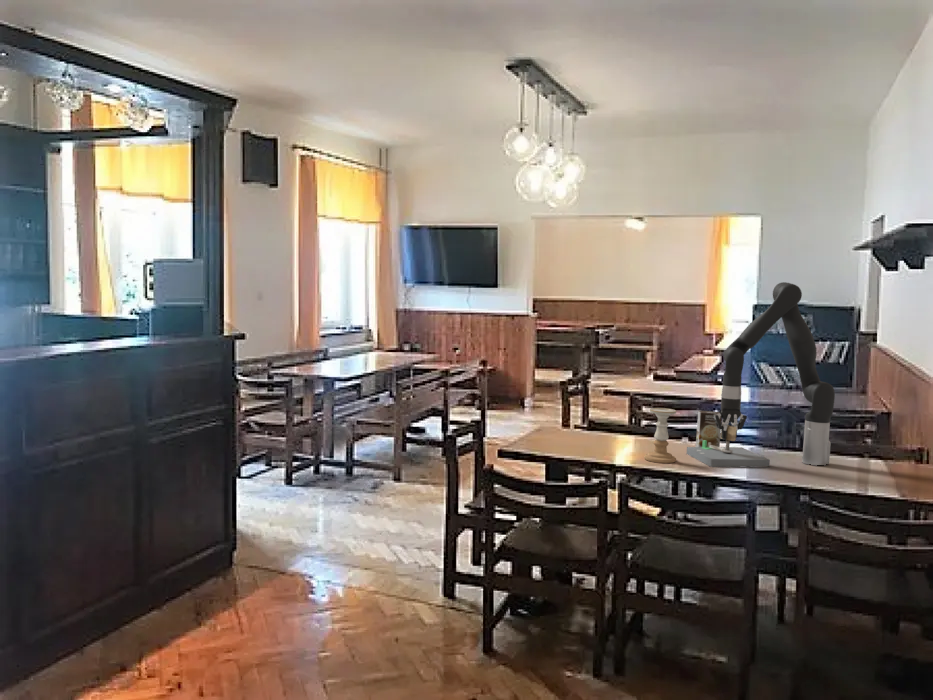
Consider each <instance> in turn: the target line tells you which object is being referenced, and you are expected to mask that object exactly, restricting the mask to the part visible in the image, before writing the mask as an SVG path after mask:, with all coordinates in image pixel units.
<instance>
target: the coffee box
mask: <svg viewBox="0 0 933 700" xmlns="http://www.w3.org/2000/svg"><path fill="white" fill-rule="evenodd" d="M719 413H720V411H713V410H712V411H711V410H710V411H709V410H698V413H697V423H696V435H695V437H696V438H695V447H702V443H703V440H706V441H707V447H708V442H710V443H711V445H713V446H717V447H721V446H720V445H721V429H719V428H717V426H716V423H715V420H714V417H713V415H714V414H719ZM722 420H723V419H722V417H721V416H720V422H721V423H722Z"/></svg>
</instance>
